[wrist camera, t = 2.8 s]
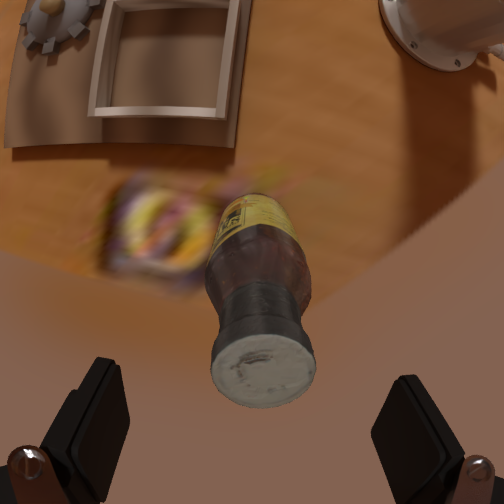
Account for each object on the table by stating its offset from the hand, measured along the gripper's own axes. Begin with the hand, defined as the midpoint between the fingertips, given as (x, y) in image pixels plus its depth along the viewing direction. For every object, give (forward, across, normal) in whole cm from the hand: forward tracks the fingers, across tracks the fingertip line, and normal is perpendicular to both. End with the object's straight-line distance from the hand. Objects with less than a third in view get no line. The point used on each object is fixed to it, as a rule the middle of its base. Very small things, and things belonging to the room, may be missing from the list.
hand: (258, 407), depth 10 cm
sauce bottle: (+22, 0, -1) cm, 22 cm away
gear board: (+21, +14, -18) cm, 31 cm away
